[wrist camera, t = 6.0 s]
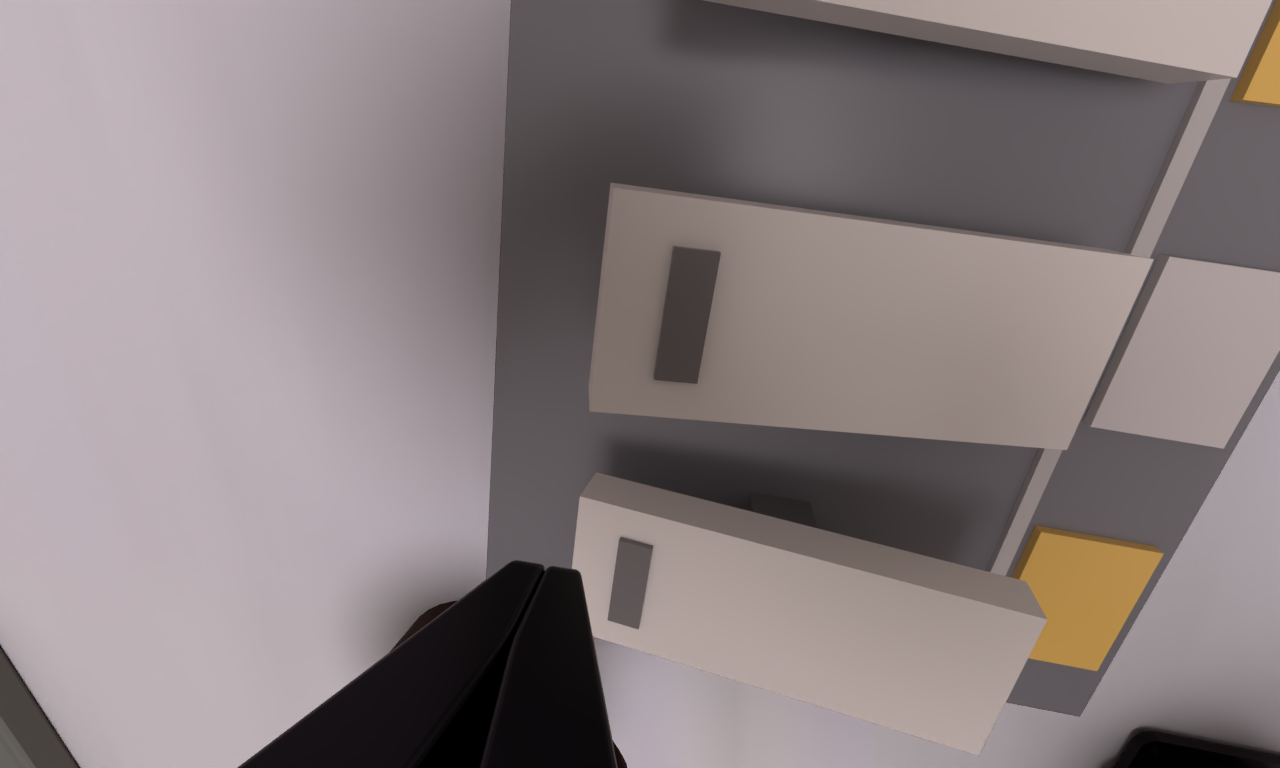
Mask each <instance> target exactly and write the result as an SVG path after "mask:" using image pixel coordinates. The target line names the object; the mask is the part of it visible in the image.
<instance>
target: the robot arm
mask: <svg viewBox="0 0 1280 768" xmlns="http://www.w3.org/2000/svg"><path fill="white" fill-rule="evenodd" d="M238 768H617V762H616V757H615V752H614V746H613V741H612V736H611V730H610V725H609V720H608V714H607V709H606V704H605V698H604V693H603V688H602V682H601V677H600V672H599V666H598V661H597V656H596V650H595V645H594V640H593V634H592V629H591V624H590V618H589V613H588V607H587V602H586V597H585V591H584V586H583V581H582V576H581V573H580V572H579V571H578V570H576V569H570V568H564V567H557V566H550V567H548V568H547V569H545V567H544V566H543V565H542V564H539V563H532V562H526V561H520V560H513V561H511V562H509V563H507V564H506V565H505V566H503V567H502V568H501V569H500V570H498V571H497V572H496V573H494V574H493V575H492V576H490V577H489V578H488V579H486V580H485V581H484V582H482V583H481V584H480V585H478V586H477V587H476V588H474V589H473V590H472V591H470V592H469V593H468V594H466V595H465V596H464V597H462V598H461V599H460V600H459V601H457V602H456V603H455V604H453V605H452V606H451V607H449V608H448V609H447V610H445V611H444V612H443V613H441V614H440V615H439V616H437V617H436V618H435V619H433V620H432V621H431V622H429V623H428V624H427V625H425V626H424V627H423V628H422V629H420V630H419V631H418V632H416V633H415V634H414V635H412V636H411V637H410V638H408V639H407V640H406V641H404V642H403V643H402V644H400V645H399V646H398V647H396V648H395V649H394V650H392V651H391V652H390V653H388V654H387V655H386V656H384V657H383V658H382V659H381V660H379V661H378V662H377V663H375V664H374V665H373V666H371V667H370V668H369V669H367V670H366V671H365V672H363V673H362V674H361V675H359V676H358V677H357V678H355V679H354V680H353V681H351V682H350V683H349V684H347V685H346V686H345V687H343V688H342V689H341V690H340V691H338V692H337V693H336V694H334V695H333V696H332V697H330V698H329V699H328V700H326V701H325V702H324V703H322V704H321V705H320V706H318V707H317V708H316V709H314V710H313V711H312V712H310V713H309V714H308V715H306V716H305V717H304V718H303V719H301V720H300V721H299V722H297V723H296V724H295V725H293V726H292V727H291V728H289V729H288V730H287V731H285V732H284V733H283V734H281V735H280V736H279V737H277V738H276V739H275V740H273V741H272V742H271V743H269V744H268V745H267V746H265V747H264V748H263V749H262V750H260V751H259V752H258V753H256V754H255V755H254V756H252V757H251V758H250V759H248V760H247V761H246V762H244V763H243V764H242V765H240V766H239V767H238ZM1114 768H1280V756H1276V755H1271V754H1266V753H1261V752H1256V751H1250V750H1245V749H1240V748H1235V747H1230V746H1225V745H1219V744H1214V743H1209V742H1204V741H1199V740H1194V739H1188V738H1183V737H1178V736H1173V735H1168V734H1163V733H1158V732H1151V731H1146V732H1141V733H1139V734H1137V735H1136V736H1135V737H1134V738H1133V739H1132V741H1131V742H1130V744H1129V745H1128V747H1127V749H1126V750H1125V752H1124V753H1123V755H1122V756H1121V758H1120V760H1119V761H1118V763H1117V764H1116V766H1115V767H1114Z"/></svg>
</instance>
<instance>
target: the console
mask: <svg viewBox="0 0 1280 768" xmlns="http://www.w3.org/2000/svg"><path fill="white" fill-rule="evenodd" d="M611 183H618V184H625V185H633V186H640V187H648V188H655V189H663V190H670V191H677V192H685V193H692V194H700V195H707V196H715V197H722V198H730V199H737V200H745V201H752V202H760V203H767V204H775V205H782V206H790V207H797V208H805V209H812V210H820V211H827V212H835V213H842V214H849V215H857V216H864V217H872V218H879V219H887V220H894V221H902V222H909V223H917V224H924V225H932V226H939V227H947V228H954V229H962V230H969V231H977V232H984V233H992V234H999V235H1007V236H1014V237H1021V238H1029V239H1036V240H1044V241H1051V242H1059V243H1066V244H1074V245H1081V246H1089V247H1096V248H1103V249H1107V250H1112V251H1117V252H1122V253H1126V254H1131V255H1136V256H1141V257H1145V258H1150V259H1154V260H1153V263H1152V265H1151V267H1150V269H1149V271H1148V274H1147V276H1146V278H1145V280H1144V282H1143V284H1142V287H1141V289H1140V291H1139V293H1138V295H1137V298H1136V300H1135V302H1134V304H1133V306H1132V309H1131V311H1130V313H1129V315H1128V317H1127V320H1126V322H1125V324H1124V326H1123V328H1122V330H1121V333H1120V335H1119V337H1118V339H1117V341H1116V344H1115V346H1114V348H1113V350H1112V352H1111V355H1110V357H1109V359H1108V361H1107V363H1106V365H1105V368H1104V370H1103V372H1102V374H1101V376H1100V379H1099V381H1098V383H1097V385H1096V387H1095V390H1094V392H1093V394H1092V396H1091V398H1090V401H1089V403H1088V405H1087V407H1086V409H1085V411H1084V414H1083V416H1082V418H1081V420H1080V422H1079V425H1078V427H1077V429H1076V431H1075V433H1074V436H1073V438H1072V440H1071V442H1070V444H1069V446H1068V449H1067V450H1058V449H1046V448H1034V447H1021V446H1009V445H997V444H985V443H972V442H960V441H948V440H935V439H923V438H911V437H898V436H886V435H874V434H861V433H849V432H837V431H824V430H812V429H800V428H787V427H775V426H763V425H750V424H738V423H726V422H713V421H701V420H689V419H677V418H664V417H652V416H640V415H627V414H615V413H603V412H590V411H589V379H590V370H591V360H592V351H593V342H594V332H595V323H596V314H597V305H598V295H599V286H600V277H601V267H602V258H603V249H604V240H605V230H606V221H607V212H608V202H609V193H610V184H611ZM1279 370H1280V0H1272V2H1271V4H1270V6H1269V9H1268V11H1267V13H1266V15H1265V17H1264V20H1263V22H1262V24H1261V26H1260V28H1259V31H1258V33H1257V35H1256V37H1255V39H1254V41H1253V44H1252V46H1251V48H1250V50H1249V52H1248V55H1247V57H1246V59H1245V61H1244V63H1243V66H1242V68H1241V70H1240V72H1239V74H1238V77H1237V78H1229V79H1218V80H1207V81H1197V82H1186V83H1175V84H1167V83H1162V82H1156V81H1150V80H1145V79H1139V78H1134V77H1128V76H1123V75H1117V74H1111V73H1106V72H1100V71H1095V70H1089V69H1083V68H1078V67H1072V66H1067V65H1061V64H1055V63H1050V62H1044V61H1039V60H1033V59H1028V58H1022V57H1016V56H1011V55H1005V54H1000V53H994V52H988V51H983V50H977V49H972V48H966V47H960V46H955V45H949V44H944V43H938V42H933V41H927V40H921V39H916V38H910V37H905V36H899V35H893V34H888V33H882V32H877V31H871V30H866V29H860V28H854V27H849V26H843V25H838V24H832V23H826V22H821V21H815V20H810V19H804V18H799V17H793V16H787V15H782V14H776V13H771V12H765V11H759V10H754V9H748V8H743V7H737V6H731V5H726V4H720V3H715V2H709V1H704V0H511V11H510V35H509V58H508V82H507V105H506V128H505V152H504V175H503V198H502V222H501V245H500V268H499V292H498V315H497V339H496V362H495V385H494V409H493V432H492V455H491V479H490V502H489V525H488V549H487V572H486V579H488V578H489V577H490V576H492V575H493V574H494V573H496V572H497V571H498V570H500V569H501V568H502V567H503V566H505V565H506V564H507V563H509V562H511V561H513V560H520V561H526V562H532V563H539V564H542V565H543V566H544V567H545V569H547V568H548V567H550V566H557V567H564V568H570V569H572V562H573V553H574V544H575V535H576V526H577V517H578V507H579V498H580V495H581V494H582V492H583V491H584V489H585V488H586V486H587V485H588V483H589V482H590V480H591V479H592V477H593V476H594V475H595V473H596V472H598V473H601V474H605V475H609V476H613V477H617V478H621V479H625V480H629V481H633V482H637V483H641V484H645V485H649V486H653V487H657V488H660V489H664V490H668V491H672V492H676V493H680V494H684V495H688V496H692V497H696V498H700V499H704V500H708V501H712V502H716V503H719V504H723V505H727V506H731V507H735V508H739V509H743V510H747V511H751V512H755V513H759V514H763V515H767V516H771V517H775V518H778V519H782V520H786V521H790V522H794V523H798V524H802V525H806V526H810V527H814V528H818V529H822V530H826V531H830V532H834V533H837V534H841V535H845V536H849V537H853V538H857V539H861V540H865V541H869V542H873V543H877V544H881V545H885V546H889V547H893V548H896V549H900V550H904V551H908V552H912V553H916V554H920V555H924V556H928V557H932V558H936V559H940V560H944V561H948V562H952V563H956V564H959V565H963V566H967V567H971V568H975V569H979V570H983V571H987V572H991V573H995V574H999V575H1003V576H1007V577H1011V578H1015V579H1018V580H1022V581H1026V582H1027V583H1028V585H1029V587H1030V589H1031V590H1032V592H1033V594H1034V596H1035V598H1036V600H1037V601H1038V603H1039V605H1040V607H1041V609H1042V611H1043V612H1044V614H1045V616H1046V618H1047V622H1046V624H1045V626H1044V627H1043V629H1042V631H1041V633H1040V635H1039V637H1038V639H1037V641H1036V643H1035V645H1034V647H1033V649H1032V651H1031V653H1030V655H1029V657H1028V659H1027V661H1026V663H1025V665H1024V667H1023V669H1022V671H1021V673H1020V675H1019V677H1018V679H1017V681H1016V683H1015V685H1014V687H1013V689H1012V691H1011V693H1010V695H1009V697H1008V699H1007V701H1006V702H1007V703H1012V704H1017V705H1022V706H1028V707H1033V708H1038V709H1043V710H1048V711H1053V712H1059V713H1064V714H1069V715H1074V716H1079V717H1080V715H1081V714H1082V712H1083V710H1084V708H1085V707H1086V705H1087V703H1088V702H1089V700H1090V698H1091V696H1092V695H1093V693H1094V691H1095V689H1096V688H1097V686H1098V684H1099V682H1100V681H1101V679H1102V677H1103V676H1104V674H1105V672H1106V670H1107V669H1108V667H1109V665H1110V663H1111V662H1112V660H1113V658H1114V656H1115V655H1116V653H1117V651H1118V650H1119V648H1120V646H1121V644H1122V643H1123V641H1124V639H1125V637H1126V636H1127V634H1128V632H1129V630H1130V629H1131V627H1132V625H1133V624H1134V622H1135V620H1136V618H1137V617H1138V615H1139V613H1140V611H1141V610H1142V608H1143V606H1144V604H1145V603H1146V601H1147V599H1148V598H1149V596H1150V594H1151V592H1152V591H1153V589H1154V587H1155V585H1156V584H1157V582H1158V580H1159V578H1160V577H1161V575H1162V573H1163V572H1164V570H1165V568H1166V566H1167V565H1168V563H1169V561H1170V559H1171V558H1172V556H1173V554H1174V552H1175V551H1176V549H1177V547H1178V545H1179V544H1180V542H1181V540H1182V539H1183V537H1184V535H1185V533H1186V532H1187V530H1188V528H1189V526H1190V525H1191V523H1192V521H1193V519H1194V518H1195V516H1196V514H1197V513H1198V511H1199V509H1200V507H1201V506H1202V504H1203V502H1204V500H1205V499H1206V497H1207V495H1208V493H1209V492H1210V490H1211V488H1212V487H1213V485H1214V483H1215V481H1216V480H1217V478H1218V476H1219V474H1220V473H1221V471H1222V469H1223V467H1224V466H1225V464H1226V462H1227V461H1228V459H1229V457H1230V455H1231V454H1232V452H1233V450H1234V448H1235V447H1236V445H1237V443H1238V441H1239V440H1240V438H1241V436H1242V435H1243V433H1244V431H1245V429H1246V428H1247V426H1248V424H1249V422H1250V421H1251V419H1252V417H1253V415H1254V414H1255V412H1256V410H1257V409H1258V407H1259V405H1260V403H1261V402H1262V400H1263V398H1264V396H1265V395H1266V393H1267V391H1268V389H1269V388H1270V386H1271V384H1272V383H1273V381H1274V379H1275V377H1276V376H1277V374H1278V372H1279Z"/></svg>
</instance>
